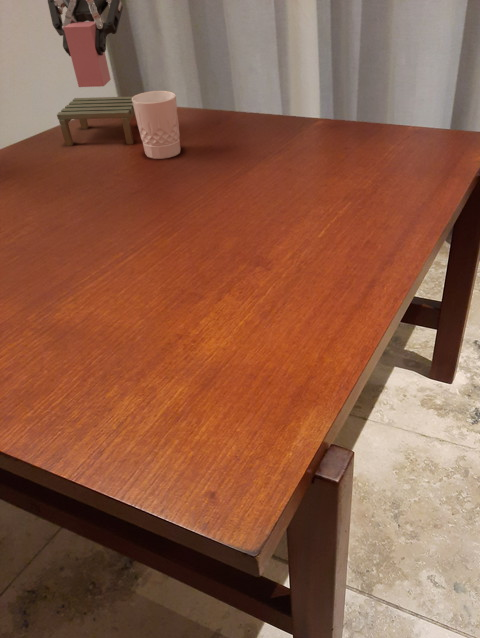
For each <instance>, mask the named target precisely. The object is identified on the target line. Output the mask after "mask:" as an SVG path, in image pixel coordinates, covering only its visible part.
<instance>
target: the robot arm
mask: <svg viewBox="0 0 480 638" xmlns="http://www.w3.org/2000/svg"><path fill="white" fill-rule="evenodd" d="M47 5H48V9H49V10H48V11H49V14H50V15H49V16H50V19H51V22H52V26H53V28H54V30H55V31H56V32H57V34H58V35H59V37H62V48H63V50H64V51H65V52H66V54H67V55H68V56H69V57H71V55H70V51H69V47H68V43H67V39H66V35H65V32H64V28H63V27H65V26H66V25H68V24H71V23H72V22H89V21H95V24H96V26H97V30H96V32H95V49H96V51H97V53H98V55H103V52H105V53H106V51H107V37H108V35H109V34H112V35H115V34H116V33H117V32H118V28H119V24H120V20H121V16H122V12H123V9H124V6H123V4H122V1H121V0H47ZM64 8H66V11H65V13H64ZM107 8H108V13H107V17H106V21H105V22H104V20H103V16H102V14H103V13H104V12H105V10H106V9H107ZM63 14H64V20H63V19H62V15H63Z"/></svg>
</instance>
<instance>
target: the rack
mask: <svg viewBox="0 0 480 638" xmlns="http://www.w3.org/2000/svg"><path fill="white" fill-rule="evenodd" d="M134 96H135V95H133V96H103V97H102V96H97V97H74V98H73V99H72V101H70V102H69V103H68V104H66V105H65V107H64V108H62V109H61V110H60V111H59V112H58V113H57V114H56V117H57V120H58V121H59V126H60V129H61V133H62V136H63V140H64V144H65V147H72V146H73V145H74V140H73V137H72V132H71V129H70V126H69V123H70V122H71V121H72V120H79V124H80V127H81V130H87V129H89V123H88V120H96V119H97V120H98V119H120V120H121V123H122V129H123V132H124V138H125V142H126V145H133V144H134V143H135V141H134V136H133V131H132V125H131V121H132V120H133V118H134V117H135V112H134V107H133V103H132V97H134Z"/></svg>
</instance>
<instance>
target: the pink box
mask: <svg viewBox="0 0 480 638" xmlns="http://www.w3.org/2000/svg"><path fill="white" fill-rule="evenodd" d="M63 28H64V32H65V35H66V39H67V43H68V47H69V51H70V55H71V56H70V58H71V62H72V63H71V64H72V67H73V71H74V74H75V79H76V83H77V85H78V88H94V87H99V88H100V87H105V86H106V85H107V84H108V83H109V82H110V81H111V75H110V71H109V66H108V61H107V57H106V51H105V52H103V55H98V53H97V51H96V49H95V32H96V30H97V26H96V24H95V21H85V22H72V23H71V24H68V25H66V26H65V27H63Z"/></svg>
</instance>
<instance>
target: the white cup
mask: <svg viewBox="0 0 480 638" xmlns="http://www.w3.org/2000/svg"><path fill="white" fill-rule="evenodd" d="M133 96H134V97H132V103H133V107H134V112H135V115H134V117H135V120H136V124H137V128H138V131H139V136H140V139H141V142H142V146H143V150H144V154H145V156H146V157H147V158H150V159H155V160H157V159H158V160H164V159H170V158H173V157H176V156H178V155H179V154H180V153H181V150H182V148H181V140H180V134H181V133H180V125H179V124H180V123H179V113H178V105H177V95H176V93H174V92H172V91H168V90H152V91H145V92H141V93H137V94H135V95H133Z"/></svg>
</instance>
